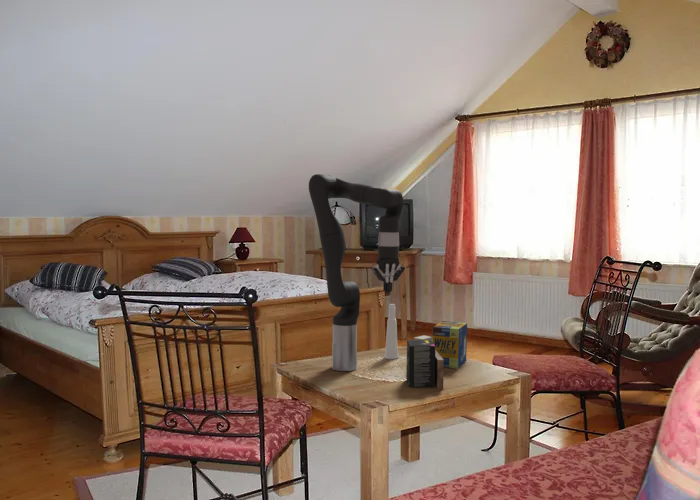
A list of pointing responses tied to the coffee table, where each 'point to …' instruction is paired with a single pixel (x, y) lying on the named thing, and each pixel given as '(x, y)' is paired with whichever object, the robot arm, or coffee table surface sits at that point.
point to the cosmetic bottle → (391, 335)
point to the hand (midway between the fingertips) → (387, 292)
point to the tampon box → (420, 363)
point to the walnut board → (439, 370)
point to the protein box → (451, 342)
